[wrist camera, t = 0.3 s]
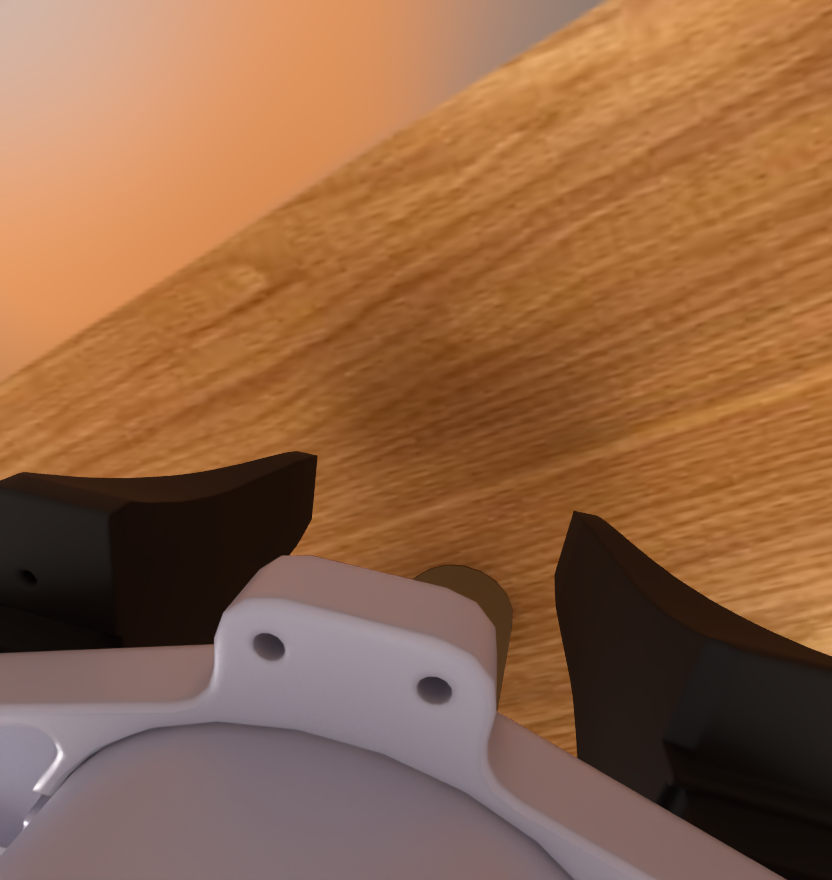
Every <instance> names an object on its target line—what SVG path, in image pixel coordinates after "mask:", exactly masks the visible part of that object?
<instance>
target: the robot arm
mask: <svg viewBox="0 0 832 880" xmlns="http://www.w3.org/2000/svg"><path fill="white" fill-rule="evenodd" d="M316 467H317V455H312V454H307V453H303V452H298V451H295V452H287V453H282V454H278V455H274V456H270V457H266V458H262V459H258V460H254V461H250V462H246V463H242V464H238V465H233V466H228V467H224V468H219V469H215V470H210V471H204V472H198V473H190V474H183V475H174V476H161V477H143V478H88V477H72V476H60V475H49V474H37V473H28V472H22V473H18V474H16V475H13V476H11V477H8V478H6V479H3V480H1V481H0V880H832V656H829V655H826V654H824V653H821V652H818V651H816V650H813V649H810V648H808V647H806V646H803V645H801V644H799V643H796V642H794V641H792V640H789V639H787V638H785V637H783V636H780V635H778V634H776V633H774V632H771V631H769V630H767V629H765V628H763V627H761V626H759V625H757V624H755V623H753V622H751V621H749V620H747V619H745V618H743V617H741V616H739V615H737V614H735V613H733V612H732V611H730V610H728V609H726V608H724V607H722V606H720V605H719V604H717V603H715V602H713V601H712V600H710V599H708V598H707V597H705V596H704V595H702V594H700V593H699V592H697V591H696V590H694V589H692V588H691V587H689V586H688V585H686V584H685V583H683V582H682V581H680V580H679V579H677V578H676V577H674V576H673V575H672V574H670V573H669V572H668V571H666V570H665V569H664V568H662V567H661V566H660V565H658V564H657V563H656V562H654V561H653V560H652V559H650V558H649V557H648V556H647V555H645V554H644V553H643V552H642V551H641V550H639V549H638V548H637V547H636V546H635V545H633V544H632V543H631V542H630V541H629V540H627V539H626V538H625V537H624V536H623V535H622V534H620V533H619V532H618V531H617V530H616V529H614V528H613V527H612V526H611V525H610V524H608V523H607V522H606V521H604V520H603V519H602V518H600V517H598V516H596V515H591V514H586V513H582V512H577V511H574V512H573V515H572V519H571V522H570V525H569V529H568V532H567V535H566V539H565V542H564V545H563V548H562V552H561V555H560V558H559V562H558V565H557V568H556V572H555V601H556V610H557V616H558V621H559V626H560V631H561V636H562V641H563V646H564V651H565V656H566V661H567V666H568V671H569V676H570V681H571V688H572V694H573V704H574V716H575V728H576V741H577V757H578V758H576V757H575V756H573V755H571V754H569V753H568V752H566V751H564V750H563V749H561V748H559V747H557V746H556V745H554V744H552V743H551V742H549V741H547V740H545V739H544V738H542V737H540V736H538V735H537V734H535V733H533V732H532V731H530V730H528V729H526V728H525V727H523V726H521V725H520V724H518V723H516V722H514V721H513V720H511V719H509V718H507V717H506V716H504V715H502V714H501V713H499V712H497V711H496V692H497V646H496V630H495V626H494V625H493V623H492V622H491V621H490V619H489V618H488V617H487V615H486V614H485V613H484V612H483V610H482V609H481V608H480V606H479V605H478V604H477V602H475V601H473V600H471V599H469V598H466V597H464V596H462V595H460V594H458V593H456V592H454V591H452V590H450V589H448V588H445V587H441V586H437V585H433V584H429V583H425V582H420V581H416V580H412V579H408V578H404V577H399V576H395V575H391V574H387V573H383V572H379V571H374V570H370V569H366V568H362V567H358V566H354V565H349V564H345V563H341V562H337V561H333V560H328V559H324V558H320V557H316V556H289V555H290V554H291V552H292V551H293V550H294V548H295V547H296V546H297V544H298V543H299V541H300V539H301V537H302V536H303V534H304V532H305V530H306V529H307V527H308V525H309V523H310V521H311V519H312V510H313V500H314V489H315V478H316Z"/></svg>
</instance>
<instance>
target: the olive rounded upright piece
mask: <svg viewBox="0 0 832 880" xmlns="http://www.w3.org/2000/svg"><path fill="white" fill-rule="evenodd" d="M414 580H416V581H420V582H425V583H429V584H433V585H437V586H441V587H445V588H448V589H450V590H452V591H454V592H456V593H458V594H460V595H462V596H464V597H466V598H469V599H471V600H473V601H475V602H477V604H478V605H479V606H480V608H481V609H482V610H483V612H484V613H485V614H486V615H487V617H488V618H489V619H490V621H491V622H492V623H493V625H494V626H495V630H496V646H497V692H496V711H497V710H498V704H499V698H500V693H501V687H502V681H503V675H504V669H505V663H506V658H507V652H508V646H509V640H510V634H511V629H512V607H511V604H510V602H509V599H508V597H507V594H506V593H505V592H504V591H503V589H502V588H501V587H500V586H499V585H498V583H497V582H496V581H494V580H493V579H491V578H490V577H488V576H487V575H485V574H484V573H482V572H480V571H477V570H474V569H471V568H468V567H465V566H449V565H445V566H441V567H437V568H433V569H429V570H427V571H426V572H424V573H422V574H421V575H419V576H418V577H416V578H415V579H414Z"/></svg>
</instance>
